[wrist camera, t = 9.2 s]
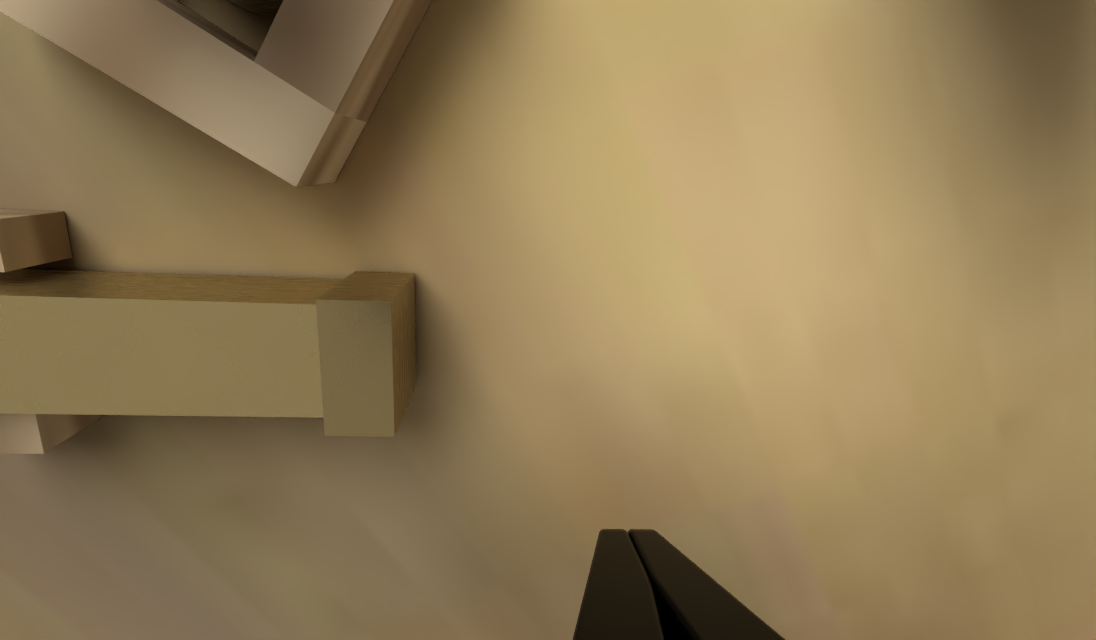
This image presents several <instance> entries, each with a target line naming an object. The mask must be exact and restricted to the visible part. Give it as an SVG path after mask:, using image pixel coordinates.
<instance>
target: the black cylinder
mask: <svg viewBox="0 0 1096 640" xmlns="http://www.w3.org/2000/svg"><path fill="white" fill-rule="evenodd" d="M229 1H231V2H233V3H234V4H236V5H238V6H240V7H242V8H244V9H246V10H248V11H252V12H255V13H259V14H264V15H276V14H277V12H278V10H279V8H280V6H281V4H282V2H283V0H229Z"/></svg>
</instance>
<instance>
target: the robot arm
mask: <svg viewBox="0 0 1096 640" xmlns="http://www.w3.org/2000/svg"><path fill="white" fill-rule="evenodd" d="M573 640H785V639H784V638H783V637H781V636H780V635H779V634H778V633H777V632H776V631H774V630H773V629H772V628H771V627H770V626H768V625H767V624H766V623H765V622H764V621H762V620H761V619H760V618H759V617H758V616H756V615H755V614H754V613H753V612H752V611H751V610H749V609H748V608H747V607H746V606H745V605H743V604H742V603H741V602H740V601H739V600H737V599H736V598H735V597H734V596H733V595H731V594H730V593H729V592H728V591H727V590H726V589H724V588H723V587H722V586H721V585H720V584H718V583H717V582H716V581H715V580H714V579H712V578H711V577H710V576H709V575H708V574H706V573H705V572H704V571H703V570H702V569H701V568H699V567H698V566H697V565H696V564H695V563H693V562H692V561H691V560H690V559H689V558H687V557H686V556H685V555H684V554H683V553H681V552H680V551H679V550H678V549H677V548H676V547H674V546H673V545H672V544H671V543H670V542H668V541H667V540H666V539H665V538H664V537H662V536H661V535H660V534H659V533H658V532H656V531H655V530H652V529H631V530H629V531H628V532H627V531H626V530H623V529H602V530H601V531H600V532H599V536H598V540H597V544H596V548H595V552H594V556H593V560H592V564H591V568H590V572H589V576H588V580H587V584H586V588H585V592H584V596H583V600H582V604H581V608H580V612H579V616H578V620H577V624H576V628H575V632H574V636H573Z"/></svg>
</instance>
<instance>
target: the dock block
mask: <svg viewBox="0 0 1096 640" xmlns="http://www.w3.org/2000/svg"><path fill="white" fill-rule="evenodd" d="M431 2H432V0H283V2H282V4H281V6H280V8H279V10H278V12H277V14H276V17H275V19H274V21H273V23H272V25H271V27H270V29H269V31H268V33H267V35H266V37H265V39H264V41H263V43H262V46H261V48H260V50H259V52H256V51H255V50H253V49H251V48H250V47H248V46H247V45H245V44H244V43H242V42H240V41H239V40H237V39H236V38H234V37H233V36H231V35H229V34H228V33H226V32H225V31H223V30H222V29H220V28H218V27H217V26H215V25H214V24H212V23H211V22H209V21H208V20H206V19H204V18H203V17H201V16H200V15H198V14H197V13H195V12H193V11H192V10H190V9H189V8H187V7H186V6H184V5H182V4H181V3H179V2H178V1H176V0H0V11H1V12H2V13H4V14H6V15H7V16H9V17H11V18H12V19H14V20H16V21H18V22H19V23H21V24H23V25H24V26H26V27H28V28H29V29H31V30H33V31H34V32H36V33H38V34H39V35H41V36H43V37H44V38H46V39H48V40H49V41H51V42H53V43H55V44H56V45H58V46H60V47H61V48H63V49H65V50H66V51H68V52H70V53H71V54H73V55H75V56H76V57H78V58H80V59H81V60H83V61H85V62H86V63H88V64H90V65H92V66H93V67H95V68H97V69H98V70H100V71H102V72H103V73H105V74H107V75H108V76H110V77H112V78H113V79H115V80H117V81H118V82H120V83H122V84H123V85H125V86H127V87H129V88H130V89H132V90H134V91H135V92H137V93H139V94H140V95H142V96H144V97H145V98H147V99H149V100H150V101H152V102H154V103H155V104H157V105H159V106H160V107H162V108H164V109H166V110H167V111H169V112H171V113H172V114H174V115H176V116H177V117H179V118H181V119H182V120H184V121H186V122H187V123H189V124H191V125H192V126H194V127H196V128H197V129H199V130H201V131H203V132H204V133H206V134H208V135H209V136H211V137H213V138H214V139H216V140H218V141H219V142H221V143H223V144H224V145H226V146H228V147H229V148H231V149H233V150H234V151H236V152H238V153H240V154H241V155H243V156H245V157H246V158H248V159H250V160H251V161H253V162H255V163H256V164H258V165H260V166H261V167H263V168H265V169H266V170H268V171H270V172H271V173H273V174H275V175H276V176H278V177H280V178H282V179H283V180H285V181H287V182H288V183H290V184H292V185H293V186H295V187H301V186H309V185H317V184H326V183H334V182H335V180H336V178H337V177H338V175H339V173H340V171H341V169H342V167H343V165H344V164H345V162H346V160H347V158H348V156H349V154H350V152H351V151H352V149H353V147H354V145H355V143H356V141H357V139H358V138H359V136H360V134H361V132H362V130H363V128H364V126H365V125H366V123H367V121H368V119H369V117H370V115H371V113H372V112H373V110H374V108H375V106H376V104H377V102H378V100H379V99H380V97H381V95H382V93H383V91H384V89H385V87H386V86H387V84H388V82H389V80H390V78H391V76H392V74H393V73H394V71H395V69H396V67H397V65H398V63H399V61H400V60H401V58H402V56H403V54H404V52H405V50H406V48H407V47H408V45H409V43H410V41H411V39H412V37H413V35H414V34H415V32H416V30H417V28H418V26H419V24H420V22H421V21H422V19H423V17H424V15H425V13H426V11H427V9H428V8H429V6H430V4H431Z"/></svg>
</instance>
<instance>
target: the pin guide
mask: <svg viewBox="0 0 1096 640" xmlns="http://www.w3.org/2000/svg"><path fill="white" fill-rule="evenodd" d="M67 258H72V253H71V247H70V242H69V236H68V230H67V225H66V219H65V214H64V212H63V211H38V210H13V209H0V272H8V271H13V270H17V269H22V268H26V267H31V266H36V265H40V264H45V263H49V262H54V261H58V260H63V259H67ZM100 418H101V415H79V414H2V413H0V453H11V454H44V453H46V452H47V451H49V450H51V449H52V448H54V447H55V446H57V445H59V444H60V443H62V442H63V441H65V440H67V439H68V438H70V437H71V436H73V435H74V434H76V433H78V432H79V431H81V430H82V429H84V428H86V427H87V426H89V425H90V424H92V423H94V422H95V421H97V420H98V419H100Z"/></svg>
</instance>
